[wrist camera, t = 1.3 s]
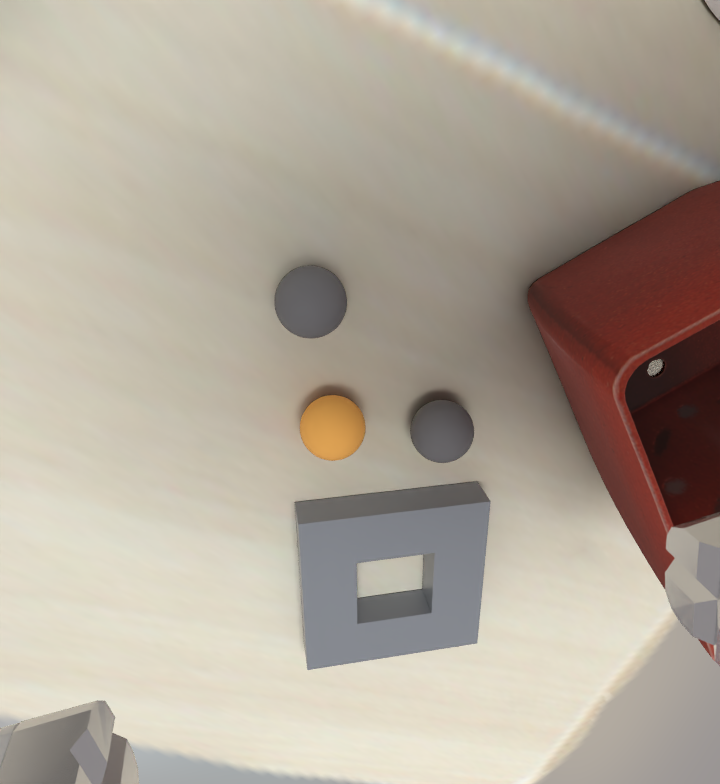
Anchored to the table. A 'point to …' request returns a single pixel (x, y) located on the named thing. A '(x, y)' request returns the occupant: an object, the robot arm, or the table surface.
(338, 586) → the grey square frame
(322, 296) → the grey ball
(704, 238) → the plant pot
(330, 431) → the orange ball
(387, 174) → the table surface
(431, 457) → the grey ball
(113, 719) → the robot arm
